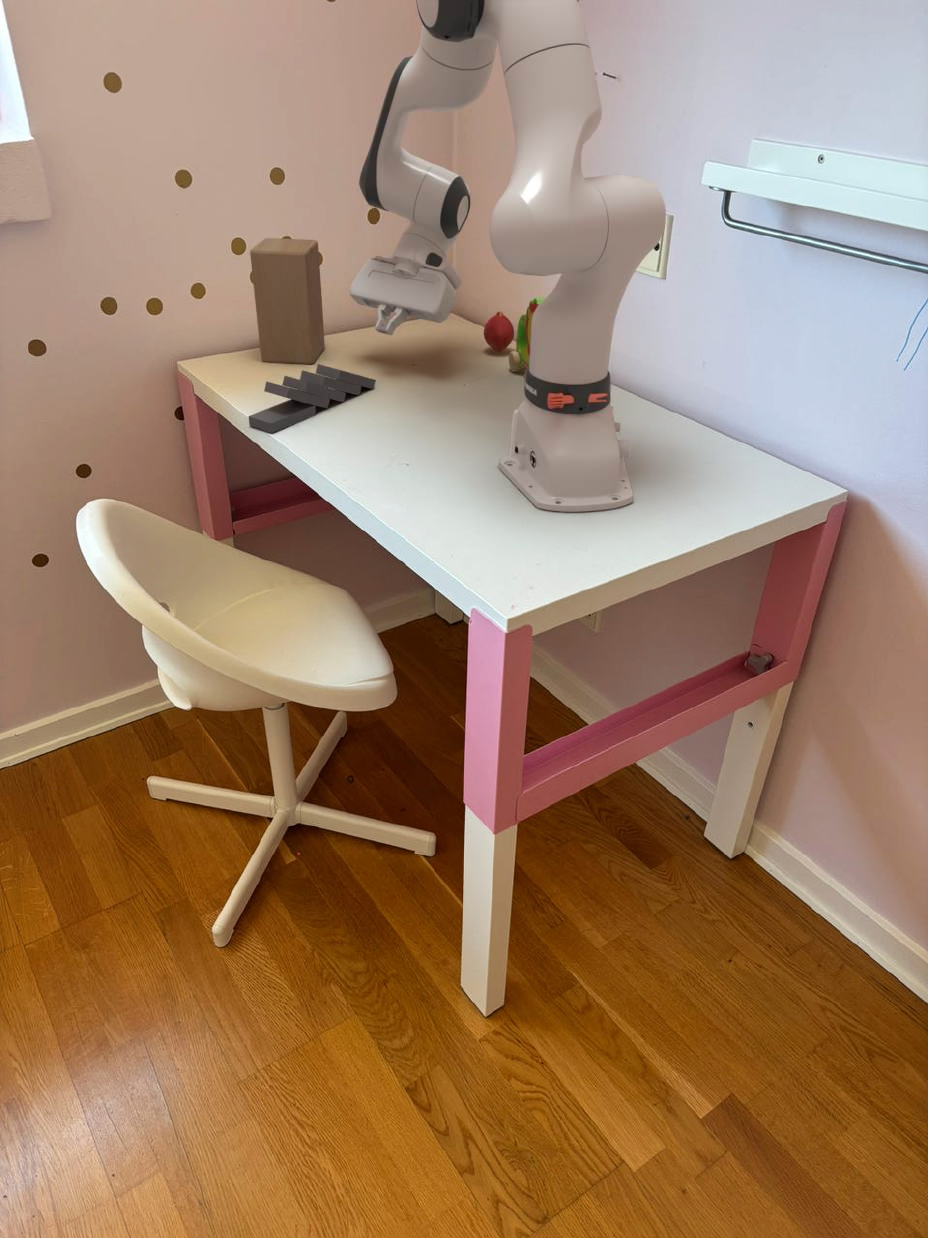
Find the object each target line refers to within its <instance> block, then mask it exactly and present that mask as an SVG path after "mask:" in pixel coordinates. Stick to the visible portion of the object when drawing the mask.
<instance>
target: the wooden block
mask: <svg viewBox="0 0 928 1238" xmlns="http://www.w3.org/2000/svg"><path fill="white" fill-rule="evenodd" d="M319 251H320V250H319V242H318V240H316V239H303V238H301V239H300V238H279V237H278V238H277V237H274V238H273V237H265V238H264V239H262V240H261V242H259V243H258V244H257V245H255V246H254V247H252V248H251V249H250V252H249V254H250V263H251V272H252V282H253V292H254V293H253V294H254V301H255V302H254V303H255V311H256V320H257V321H256V322H257V329H258V330H257V332H258V339H259V349H260V350H259V351H260V359H261V361H262V362H264V363H280V364H281V363H284V364H301V365H303V364H305V365H312V364H314V363H315V362H316V361H317V359H318V358H319V356H320V355H321V353H322V352H323V351H324V349H325V347H326V344H325V343H326V342H325V331H324V315H323V314H324V312H323V311H324V310H323V300H322V283H321V282H322V281H321V269H320V268H321V267H320V255H319V254H320V253H319Z"/></svg>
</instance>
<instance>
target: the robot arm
mask: <svg viewBox="0 0 928 1238" xmlns="http://www.w3.org/2000/svg"><path fill="white" fill-rule="evenodd" d="M415 2H416V8H417V12H418V13H417V14H418V16H419V18H420V19H419V20H420V22H421V23H422V27H421V33H420V39H419V44H418V48H417V49H416V52H415V53H414V55H411V56H407V57H404V58H403V59H402V60H401V61H400V63H399V64H397V68H395V70H394V72H393V75H392V77H391V79H390V81H389V85H388V87H387V91H386V94H385V97H384V100H383V102H382V106H381V109H380V113H379V116H378V119H377V122H376V127H375V130H374V133H373V137H372V141H371V144H370V146H369V150H368V152H367V155H366V158H365V159H364V162H363V165H362V167H361V170H360V174H359V180H358V185H359V189H360V190H361V193H362V196H363V197H364V199H365V201H366V202H367V204H368V206H371V207H374V208H376V209H379V210H382V211H385V212H390V213H392V214H395V215H398V216H399V217H401V218H404V219H406V220H408V221H409V224H408V227H407V229H406V230H404V232H403V233H402V234H401V236H400V238H399V240H398V242H397V244H396V246H395V247H394V250H393V252H392V254H391V257H384V256H381V255H376V256H375V257H372V258H370V259H368V260H366V262H365V264H364V265H363V266H362V267H361V268H360V270H359V272H358V273H357V274H356V276H355V278H354V279H353V280H352V283H351V285H350V286H349V289H348V290H349V296H350V297H351V298H352V299H353V300H354V302H355V303H357V305H360V306H364V307H367V308H368V307H369V308H373V309H377V319H378V320H377V322H376V324H375V326H374V329H375V331H377V332H378V333H379V334H385V335H389V336H392V335H394V332H395V331H396V329H397V328H398V327H400V326H401V325H402V324H404V322H406V321H407V318H408V317H412V318H415V319H420V320H424V321H425V320H426V321H429V322H433V323H437V324H441V323H443V322H445V321H446V320H447V319H448V317H449V316H450V314H451V311H452V309H453V308H454V305H455V301H456V299H457V290H458V289H459V288H460V287H461V285H462V279H461V276H460V274H459V273H458V272H457V270H456V268H455V267H454V266H453V264H452V263H451V262H450V261H449V260H448V259H447V258H448V253H449V250H450V248H451V247H452V246H453V244H454V243H455V242H456V241H457V238H458V236H459V234H460V233H461V231H462V229H463V227H464V224H465V223H466V220H467V219H468V216H469V213H470V209H471V199H472V198H471V197H472V193H471V190H470V188H469V186H468V184H467V182H465V181H464V178H463V177H462V176H460V175H459V174H457V173H456V172H453V171H451V170H449V169H447V168H445V167H442V166H441V165H438V164H435V163H432V162H429V161H427V160H426V159H423V158H421V157H418V156H416V155H414V154H412V153H410V152H408V151H407V150H406V149H405V148H404V147H403V146H402V144H401V143H402V139H403V137H404V133H405V130H406V127H407V124H408V121H409V117H410V115H411V113H413V112H417V111H418V112H419V111H436V112H437V111H438V112H451V111H457V110H460V109H462V108H463V109H464V108H465V107H468V106H469V105H471V104H472V103H474V102H475V101H476V100H478V98H480V97H481V96H482V94H483V93H484V92H485V91H486V89H487V86H488V83H489V80H490V78H491V74H492V71H493V67H494V63H495V58H496V54H497V53H496V52H497V47H498V49H499V55H500V56H499V57H500V63H501V67H502V68H501V69H502V72H503V77H504V82H505V88H506V92H507V93H506V94H507V97H508V103H509V108H510V113H511V114H510V115H511V119H512V124H513V131H514V143H515V144H514V146H515V148H514V149H515V150H514V162H513V169H512V172H511V177H510V178H509V179H510V180H509V182H508V185H507V187H506V189H505V190H504V192H503V194H502V195H501V196H500V198H499V199H498V201H497V202H496V203H495V206H494V208H493V210H492V213H491V215H490V216H491V217H490V221H489V229H488V231H489V233H488V234H489V242H490V245H491V249H492V252H493V254H494V256H495V258H496V259H497V261H498V262H499V264H500V265H501V266H502V267H503V269H505V270H506V271H507V272H509V273H511V274H516V275H517V274H518V275H522V276H523V275H525V276H532V277H533V276H536V277H548V276H553V275H554V276H555V275H559V274H561V275H560V276H559V278H558V281H556V284H555V286H554V288H553V289H552V291H551V292H550V293H549V294H548V295H547V296H546V298H545V299H544V300H543V301H542V302H541V303H540V304H539V305H538V307H537V308H536V310H535V312H534V314H533V317H532V323H531V341H530V359H529V367H528V368H527V369H525V371H526V376H525V379H524V378H523V381H524V382H523V384H524V392H523V393H524V399H523V401H522V402H521V404H520V405H519V406H518V407H517V408H515V410H514V411H513V414H512V423H511V433H510V442H509V452H508V453H509V454H507V455H505V456H503V457H501V458H500V459H499V460H498V466H497V467H498V468H499V470H500V471H502V473H503V474H504V475H505V476H506V477H507V478H508V479H509V480H510V481H511V482H512V483H513V484H514V486H516V487H517V488H518V489H519V490H520V492H521V493H523V495H525V497H526V498H527V499H528V500H529V501H530V502H531V504H533V505H534V506H535V507H536V508H537V509H542V510H547V511H555V512H569V513H570V512H571V513H572V512H573V513H574V512H576V513H577V512H592V511H594V512H595V511H603V510H612V509H616V508H620V507H623V506H626V505H629V504H631V503H633V501H634V492H633V489H632V486H631V481H630V478H629V474H628V471H627V470H628V469H627V467H626V463H625V459H624V458H626V457H628V455H629V440H626V439H625V440H618V434H617V433H620V431H621V422H615V419H614V413H613V411H614V406H613V405H612V404H611V398H612V397H611V391H612V382H611V373H610V371H609V362H610V355H611V346H612V340H613V334H614V327H615V326H614V325H615V321H616V318H617V314H618V311H619V308H620V304H621V302H622V299H623V298H624V295H625V292H626V290H627V288H628V285H629V284H630V282H631V280H632V278H633V276H634V274H635V272H637V269H638V267H639V266H640V264H641V263H642V262H643V260H644V259H645V258H646V256H648V254H650V252H652V250H653V249H655V248H656V246H657V245H658V244H659V242H660V240H661V239H662V237H663V234H664V231H665V227H666V222H667V221H666V220H667V211H666V205H665V199H664V198H663V195H662V193H661V191H660V190H659V188H658V187H657V186H656V184H655V183H653V182H652V181H650V180H648V179H645V178H641V177H637V176H633V175H626V174H617V173H616V174H615V173H614V174H607V175H599V176H589V177H584V175H583V171H582V153H583V148H584V144H586V142H587V141H589V140H590V139H591V137H592V136H593V135H594V133H595V132H596V131H597V129H598V127H599V125H600V124H601V121H602V113H603V107H602V103H601V98H600V92H599V86H598V82H597V77H596V72H595V66H594V61H593V56H592V52H591V51H592V50H591V47H590V42H589V36H588V33H587V28H586V25H585V21H584V18H583V15H582V10H581V8H580V4H579V0H416V1H415ZM392 313H393V314H394V316H392V317H391V318H390V319H389V320H387V317H390V316H391V314H392Z"/></svg>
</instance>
